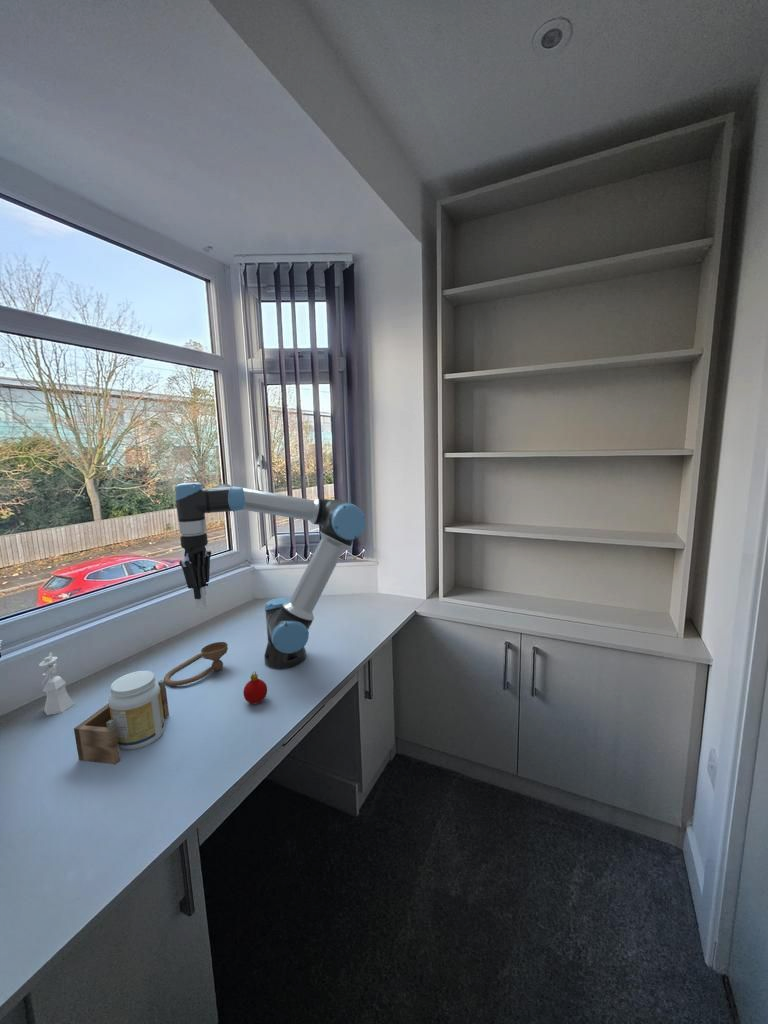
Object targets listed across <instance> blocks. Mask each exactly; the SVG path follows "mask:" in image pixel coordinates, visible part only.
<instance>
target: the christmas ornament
mask: <svg viewBox="0 0 768 1024" xmlns="http://www.w3.org/2000/svg"><path fill="white" fill-rule="evenodd" d="M242 693H243V697H244V699H245V701H246V702H248V703H250V704H252V705H253V704H254V705H255V704H258V703H259V704H260V703H261V702H262V701H264V699H265V698H266V696H267V694H268V686H267V684H266V683H265V681H264V680H262V679H260V678H258V674H257V672H256V671H253V672H252V673H251V675H250V680H249V681H248V682H247V683H246V684H245V686H244V688H243V692H242Z"/></svg>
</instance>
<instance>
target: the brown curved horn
mask: <svg viewBox="0 0 768 1024" xmlns="http://www.w3.org/2000/svg"><path fill="white" fill-rule="evenodd" d="M228 646H229V645H228V643H227V642H226V641H217V642H213V643H210V644H207V645H206V646H204V647H202V649H201V650H200V653H197V654H196V655H193V657H191V658H189V659H188V660H185V661H184V662H183V663H180V664H179V665H177V666H176V667H174V668H172V669H171V670H169V671H168V672H167V673H166V674H165V676H164V677H163V680H164V681H165V685H167V686H168V685H169V686H171V687H177V686H178V687H179V686H183V685H189V684H191V683H195V682H197V681H199V680H201V679H202V678H204V677H206V676H207V675H209V674H210V673H212V672H213V671H214V672H219V671H221V670H222V669H223V667H224V662H223V660H222V659H221V658H222V657H223V656H224V655H226V654H227V652H228V650H229V648H228ZM200 658H203V659H205V660H210V661H212V663H211V666H210V667H208V668H207V669H205V670H204V671H202V672H201V673H198V674H196V675H194V676H192V677H190V678H186V679H181V680H173V679H172V680H171V679H170V677H172V675H174V674H175V673H177V672H179V671H181V670H182V669H184V668H185V667H186V666H188V665H190V664H192V663H193V662H195V661H197V660H198V659H200Z"/></svg>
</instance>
